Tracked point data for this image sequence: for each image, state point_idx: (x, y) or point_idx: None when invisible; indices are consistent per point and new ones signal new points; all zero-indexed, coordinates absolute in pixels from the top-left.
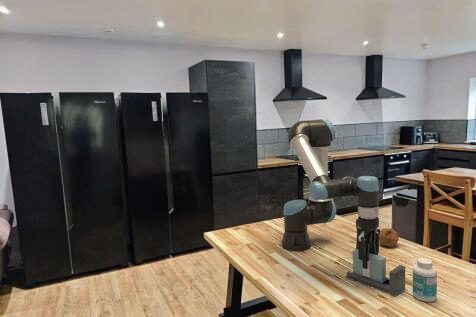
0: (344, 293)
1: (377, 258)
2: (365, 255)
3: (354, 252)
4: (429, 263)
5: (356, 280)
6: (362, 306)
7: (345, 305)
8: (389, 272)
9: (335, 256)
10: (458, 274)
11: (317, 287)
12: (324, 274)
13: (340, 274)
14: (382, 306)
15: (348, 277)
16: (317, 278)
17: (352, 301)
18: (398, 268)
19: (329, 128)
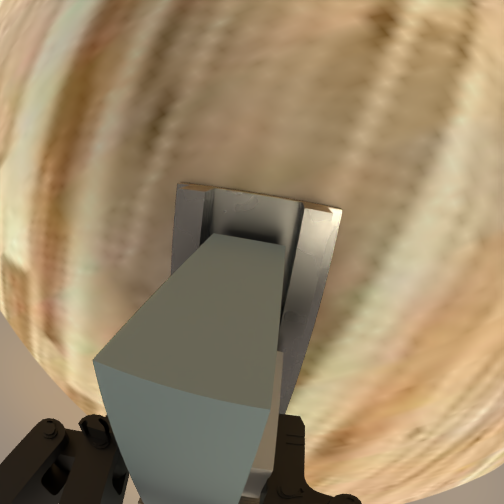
0: (45, 259)
1: None
2: (57, 492)
3: (103, 384)
4: None
5: (172, 272)
6: (42, 344)
7: (9, 293)
8: (138, 501)
9: (461, 5)
10: (443, 483)
11: (18, 128)
12: (142, 45)
13: (206, 124)
14: (89, 398)
15: (176, 207)
16: (79, 57)
17: (34, 308)
18: None
19: None
